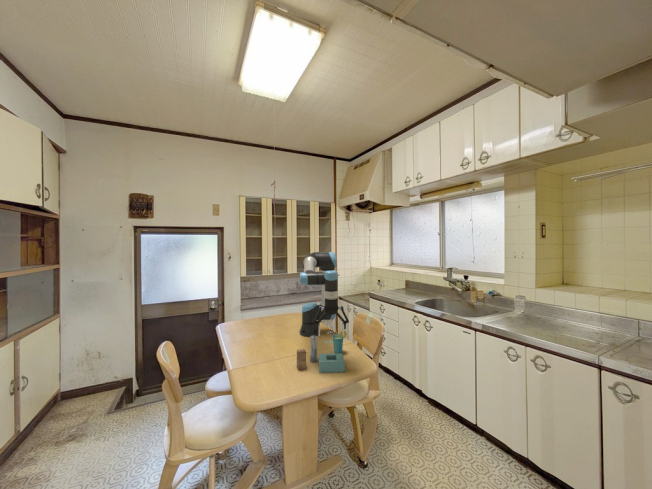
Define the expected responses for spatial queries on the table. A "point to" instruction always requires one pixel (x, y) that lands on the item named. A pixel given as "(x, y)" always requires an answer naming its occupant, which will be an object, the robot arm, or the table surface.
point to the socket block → (331, 363)
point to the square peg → (301, 359)
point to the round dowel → (313, 348)
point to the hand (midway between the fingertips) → (331, 335)
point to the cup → (338, 341)
